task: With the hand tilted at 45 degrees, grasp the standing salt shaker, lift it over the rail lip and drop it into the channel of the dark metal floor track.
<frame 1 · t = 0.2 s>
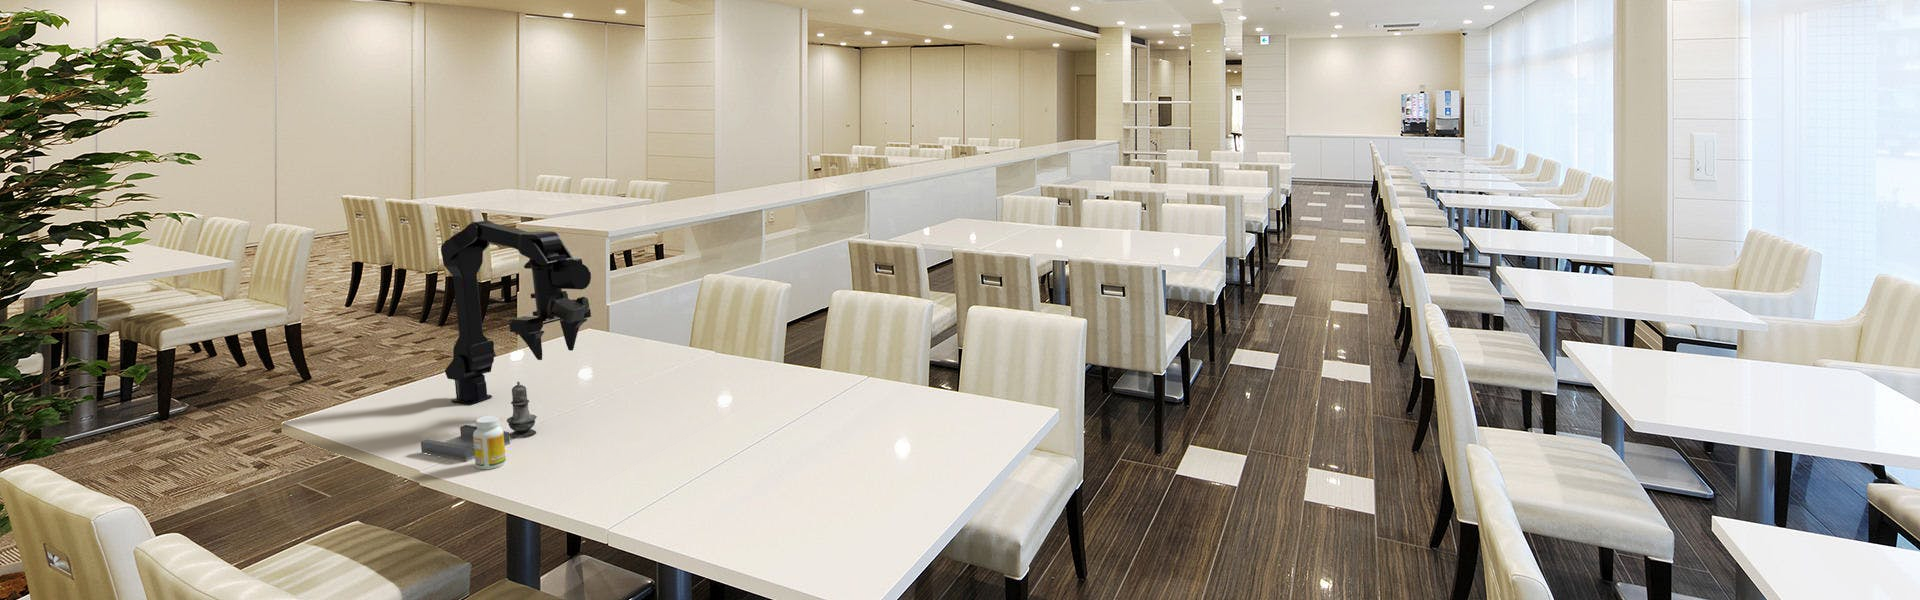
hand: (555, 355, 208), 14 cm above the table, tool pointing down, fingers open, 9 cm apart
floor track: (466, 448, 190), on the table
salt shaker: (523, 435, 198), on the table
supplement bottle: (491, 465, 181), on the table
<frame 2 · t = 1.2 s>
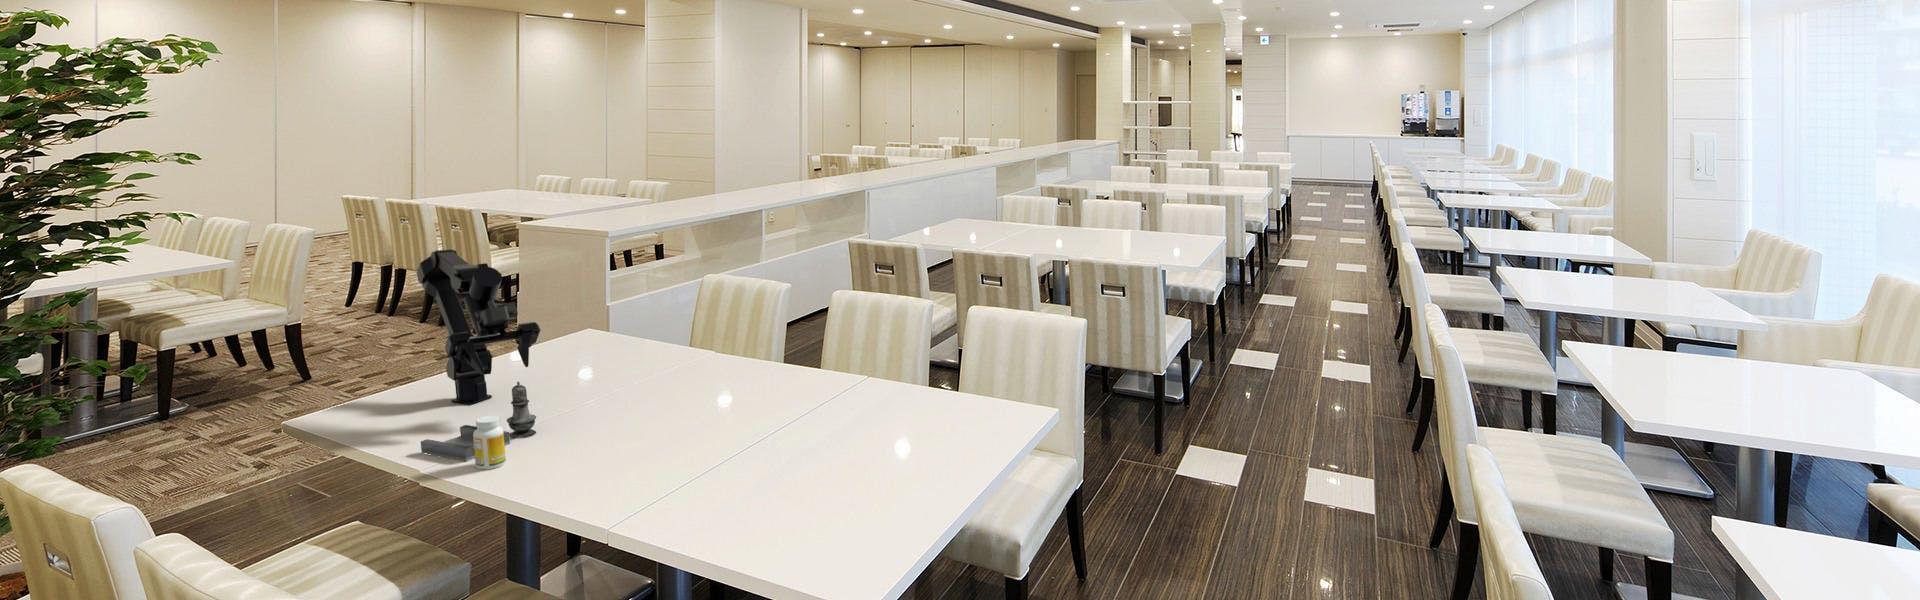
hand: (505, 370, 201), 13 cm above the table, tool tilted 45°, fingers open, 9 cm apart
nothing on the table moved.
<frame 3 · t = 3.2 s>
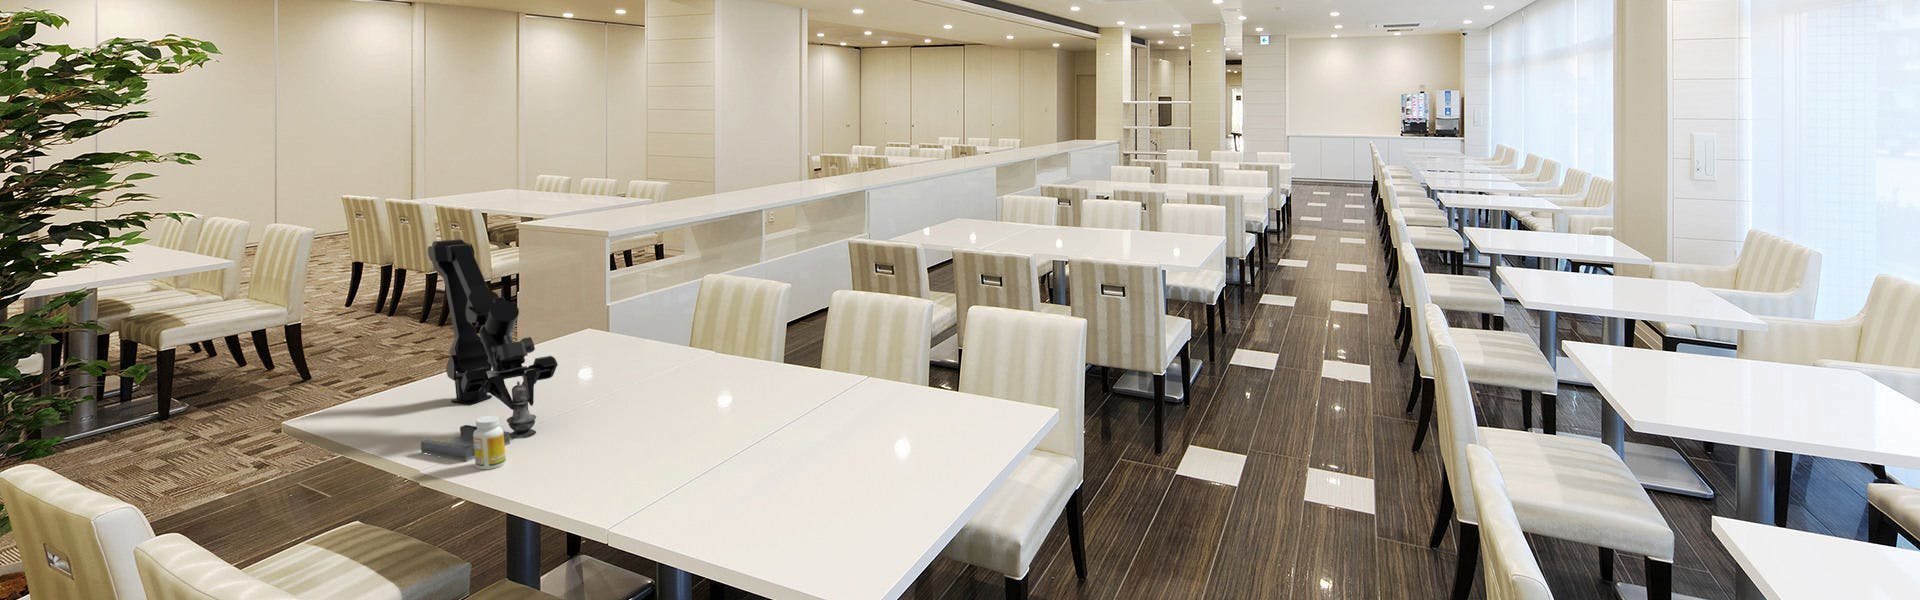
hand: (522, 406, 196), 7 cm above the table, tool tilted 45°, fingers closed on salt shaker, 4 cm apart
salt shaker: (523, 434, 198), on the table, touching gripper
everything else where it was.
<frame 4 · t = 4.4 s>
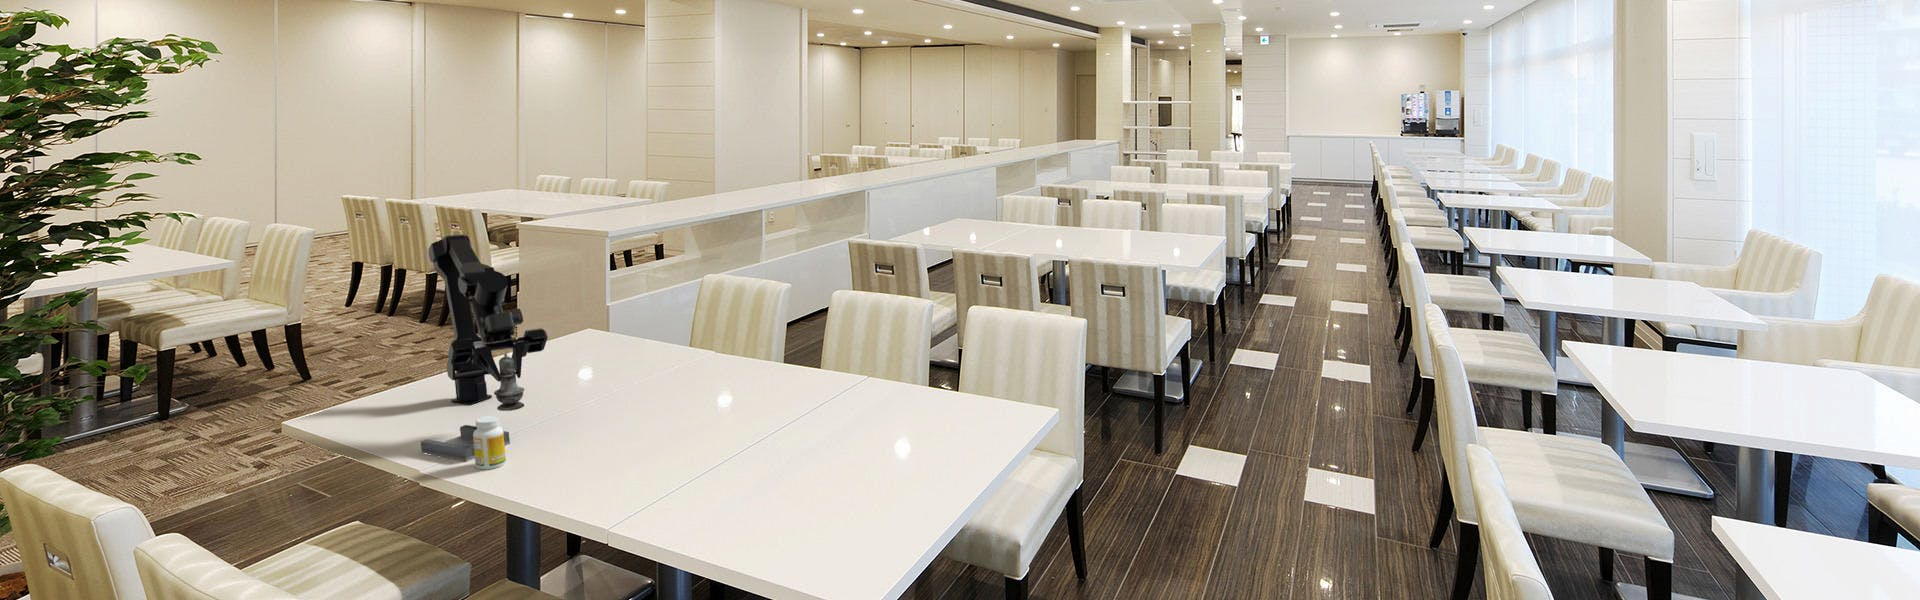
hand: (509, 378, 193), 13 cm above the table, tool tilted 45°, fingers closed on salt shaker, 4 cm apart
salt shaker: (510, 407, 195), point 7 cm above the table, touching gripper
everything else where it was.
when the fingers open (9 cm above the table, at t = 6.1 s): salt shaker drops 1 cm, resting on floor track.
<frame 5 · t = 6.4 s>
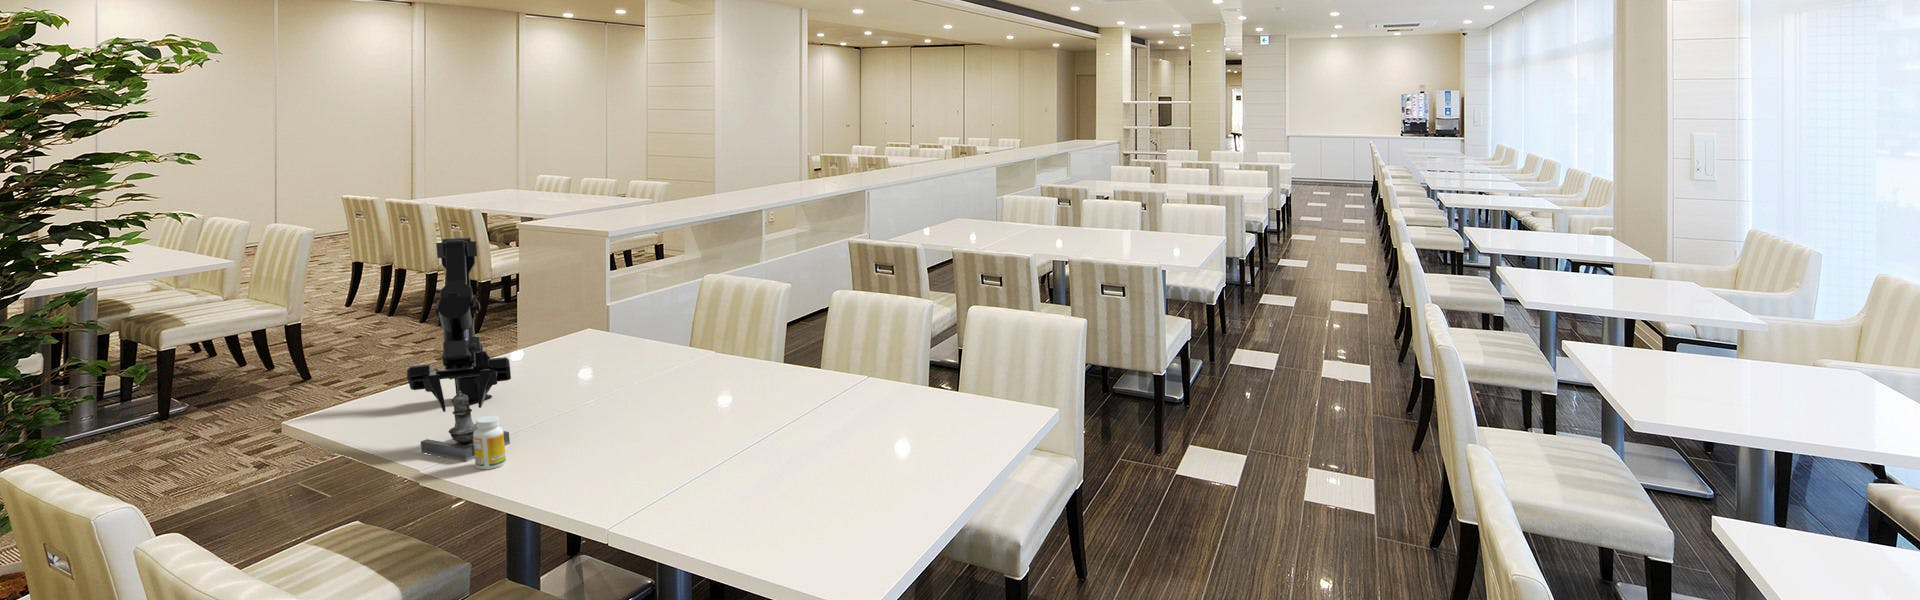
hand: (462, 408, 187), 9 cm above the table, tool tilted 45°, fingers open, 6 cm apart
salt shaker: (466, 446, 190), resting on floor track
everything else where it was.
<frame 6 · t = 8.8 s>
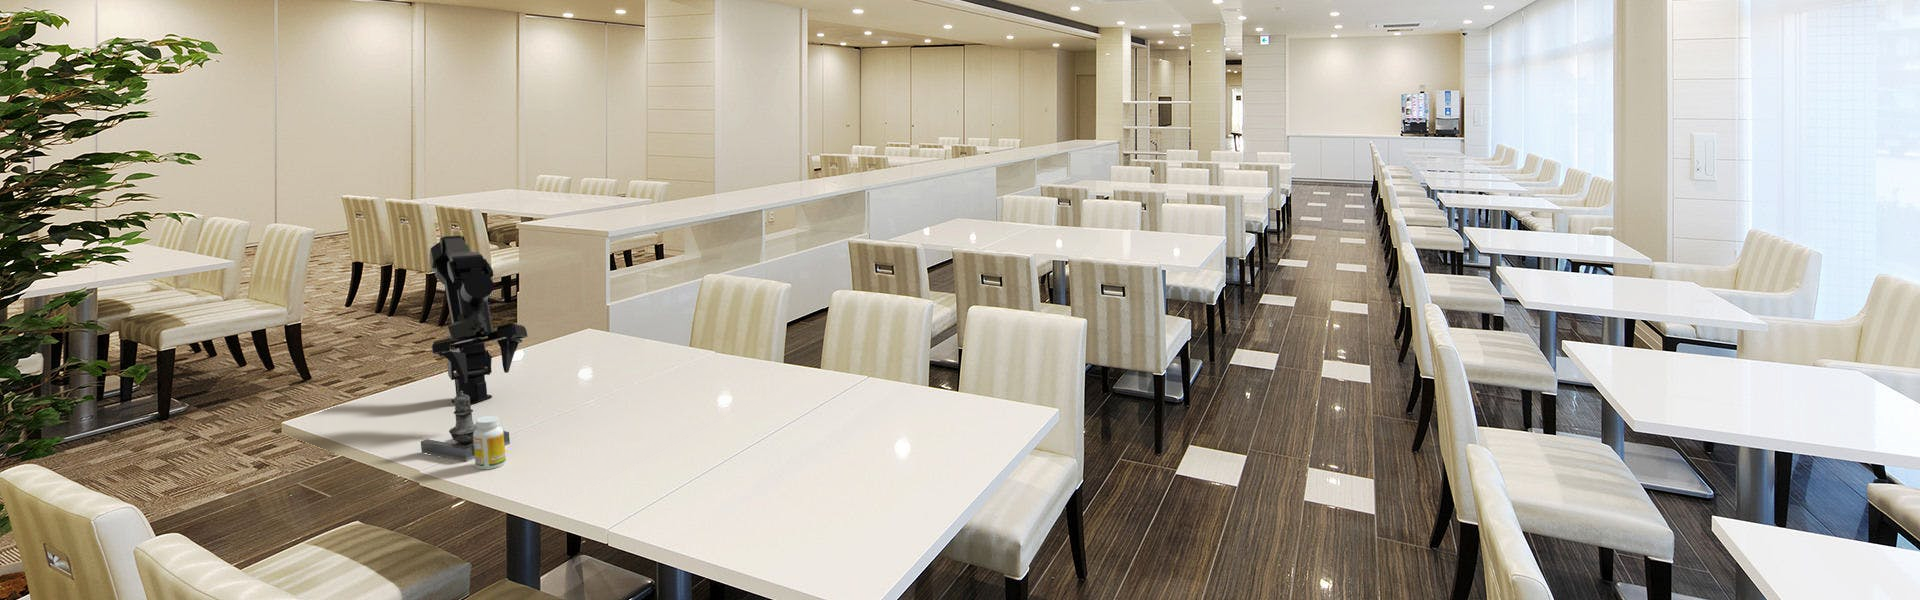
hand: (486, 377, 201), 11 cm above the table, tool tilted 25°, fingers open, 9 cm apart
nothing on the table moved.
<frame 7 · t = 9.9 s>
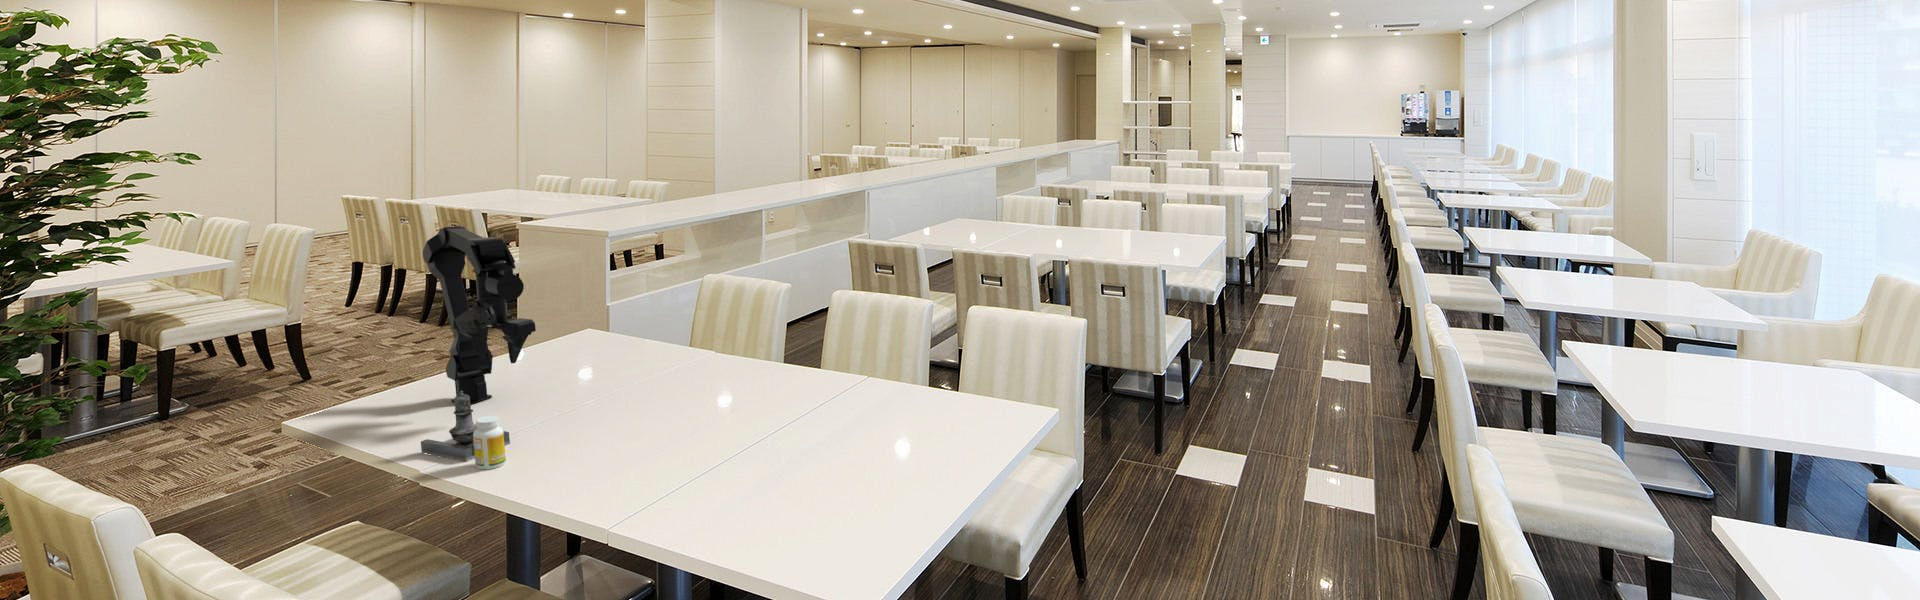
hand: (497, 361, 208), 13 cm above the table, tool pointing down, fingers open, 9 cm apart
nothing on the table moved.
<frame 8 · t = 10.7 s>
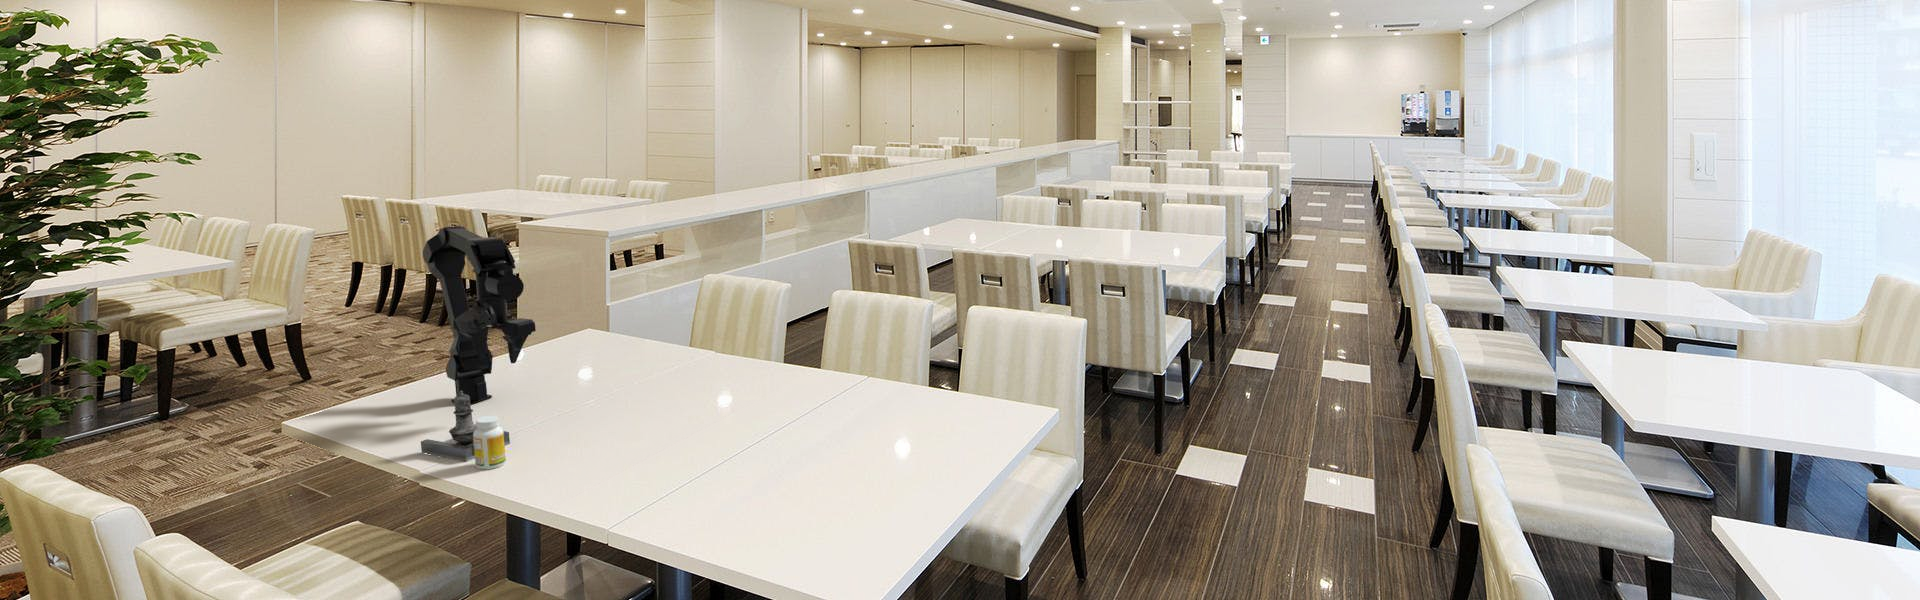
hand: (497, 361, 208), 13 cm above the table, tool pointing down, fingers open, 9 cm apart
nothing on the table moved.
at the end: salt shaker inside the target area on the floor track (0.2 cm from its centre), point 0.4 cm above the floor track's base; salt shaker tilted 0°; the gripper is holding nothing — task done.
